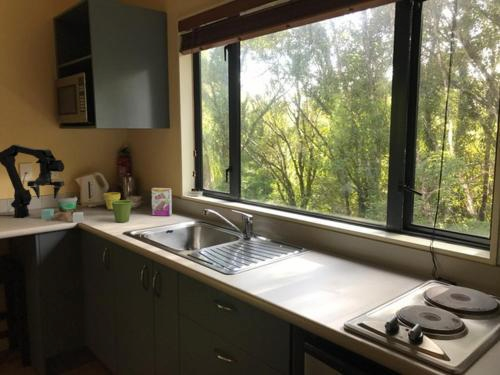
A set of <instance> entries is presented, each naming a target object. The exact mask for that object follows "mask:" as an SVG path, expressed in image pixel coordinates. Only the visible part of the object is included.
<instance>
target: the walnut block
mask: <svg viewBox="0 0 500 375" xmlns="http://www.w3.org/2000/svg"><path fill="white" fill-rule="evenodd" d="M53 216H54V218H53V222H67V221H69V220H71V219H72V215H71V212H60V211H58V212H56V213H55V212H54V214H53Z"/></svg>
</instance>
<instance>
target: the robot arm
mask: <svg viewBox="0 0 500 375" xmlns="http://www.w3.org/2000/svg"><path fill="white" fill-rule="evenodd" d="M19 153H20V154H25V155H29V156H33V157H34V158H35V159H38V160H37V161H36V162H35V164H39V173H38V177H36V179H34V180H28V181H27V187H29V188H30V189H32V190H33V191H34V193H35V196H36V197H37V199H40V197H41V196H40V191H41V190H40V188H41V187H45V186H52V187H53V198H54V199H56V198H57V196H58V193H59V191H60V190H61V188H62V187H64V186H65V184H66V183H65V181H64V180H55V181H53V179H52V175H53V172H54V173H56V172H57V173H62V172H63V171H64V170H65V164H64V162H62V159H56V157H55V156H54V154H53V152H52V150H50V149H49V148H35V147H30V146H29V147H28V146H26V145H25V146H24V145H20V144H12V145H10V146H9V147H7V148H5V149H4V150H2V151H0V164H1V165H2V166H3V167H4V168H5V170H6V172H7V175H8V177H9V180H10V182H11V185H12V187H13V189H14V194H13V198H14V200H13V201H12V202H11V203H10V205H11V208H13V210H14V216H13V218H22V219H23V218H27V217H30V212H29V210H30V209H29V206H30V205H31V204H30V203H31V201H32V194H31V191H30V189H26V188H25V187H24V185H23V182H22V179H21V177H20V174H19V172H18V170H17V167H16V157H17V156H18V155H19ZM40 186H41V187H40Z"/></svg>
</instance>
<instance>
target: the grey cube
mask: <svg viewBox="0 0 500 375" xmlns="http://www.w3.org/2000/svg"><path fill="white" fill-rule="evenodd" d="M83 220H85V219H84V212H83V211H82V212H81V211H80V212H79V211H78V212H77V211H76V212H75V213H73V214H72V223H73V224H81V222H83V223H84V221H83Z"/></svg>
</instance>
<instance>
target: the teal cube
mask: <svg viewBox="0 0 500 375" xmlns="http://www.w3.org/2000/svg"><path fill="white" fill-rule="evenodd" d="M40 213H41V214H40V215H41V216H40V217H41V220H51V218H52V219H54V216H53V214H55V210H54V208H44V209H42V210H41V211H40Z"/></svg>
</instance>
